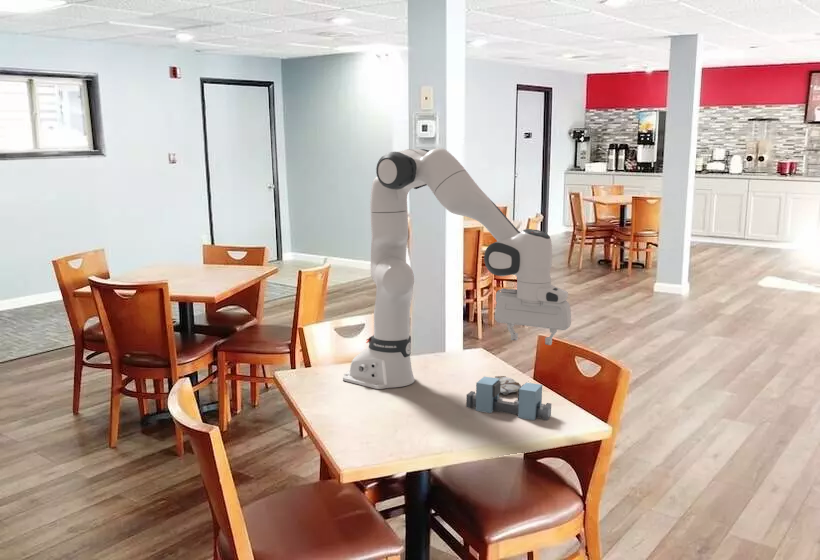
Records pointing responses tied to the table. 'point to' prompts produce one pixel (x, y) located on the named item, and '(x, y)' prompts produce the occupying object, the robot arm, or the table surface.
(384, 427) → the table surface
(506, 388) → the stone
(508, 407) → the rail
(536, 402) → the light blue block
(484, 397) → the light blue rectangular block
